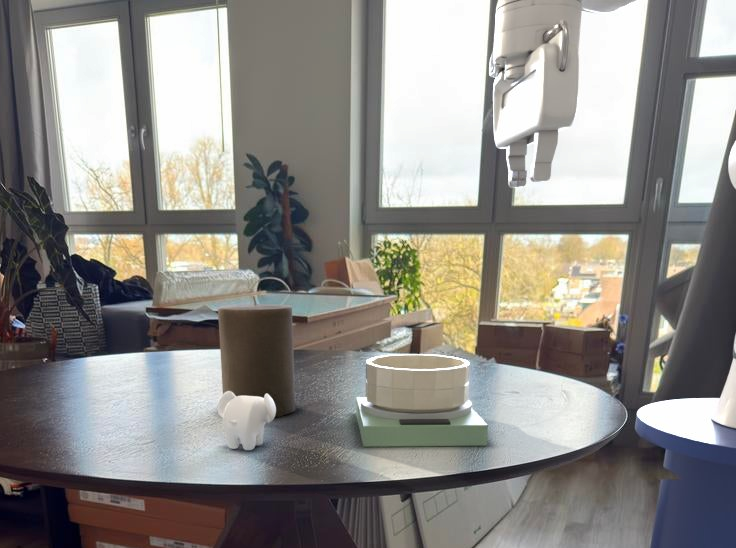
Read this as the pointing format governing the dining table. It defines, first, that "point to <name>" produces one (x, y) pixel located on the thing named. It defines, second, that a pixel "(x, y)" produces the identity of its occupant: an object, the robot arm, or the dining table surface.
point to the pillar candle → (258, 352)
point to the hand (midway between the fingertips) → (527, 184)
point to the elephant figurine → (245, 418)
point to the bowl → (417, 382)
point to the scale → (420, 427)
